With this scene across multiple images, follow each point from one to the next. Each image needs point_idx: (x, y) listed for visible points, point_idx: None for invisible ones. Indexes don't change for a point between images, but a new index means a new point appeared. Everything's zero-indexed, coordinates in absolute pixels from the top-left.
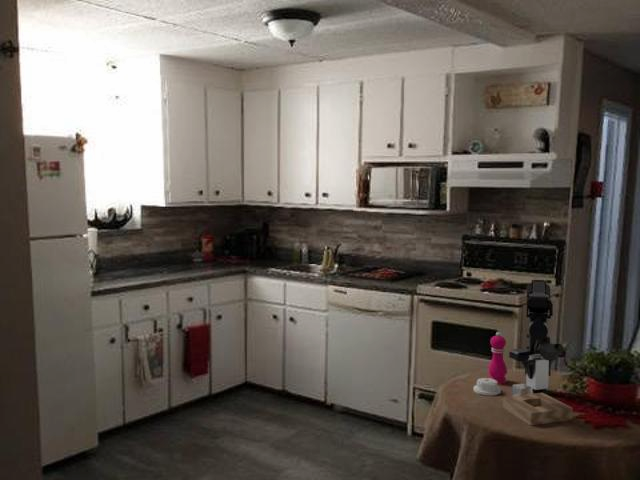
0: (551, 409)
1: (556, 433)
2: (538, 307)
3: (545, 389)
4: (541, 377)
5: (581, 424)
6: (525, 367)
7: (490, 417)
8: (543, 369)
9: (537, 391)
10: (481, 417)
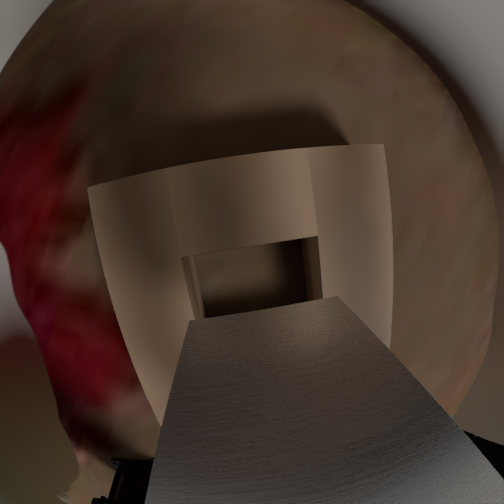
0: (229, 175)
1: (281, 47)
2: None
3: (119, 468)
4: (296, 382)
5: (106, 127)
6: None
7: (449, 270)
8: (280, 498)
9: (150, 466)
10: (468, 273)
